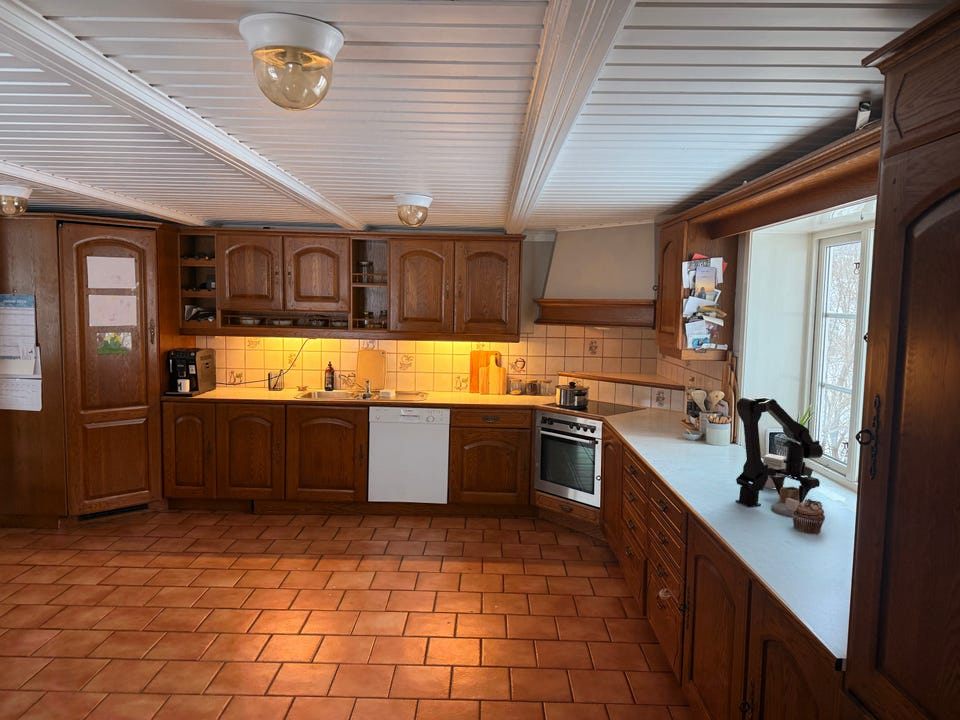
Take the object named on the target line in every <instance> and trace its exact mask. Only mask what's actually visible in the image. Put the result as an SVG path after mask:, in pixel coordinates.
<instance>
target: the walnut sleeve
mask: <svg viewBox="0 0 960 720" xmlns="http://www.w3.org/2000/svg"><path fill="white" fill-rule="evenodd" d="M786 498H791V499H794V500H797V501H799V487H796V486H784V487H783V488H780V496H779V495H778V502H781V501H782V502H781V503H784V502H785V503H784V504H786ZM799 502H800V501H799Z"/></svg>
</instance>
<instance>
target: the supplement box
mask: <svg viewBox="0 0 960 720" xmlns="http://www.w3.org/2000/svg"><path fill="white" fill-rule="evenodd" d="M786 457H787V456H785V455H784V456H783V455H777V454H773V453H767V454H766V455H763V459H762V462H763V463H765V464H768V468H769V467H780V468H784V469H785V466H786V463H784V460H786ZM770 476H771V475H768V480H767V481H766V484H765V486H764V488H766V487H769V488H768V489H771V488H776V487H775V485H774V483H773V481H772V479H771V478H770ZM785 480H786V478H785V479H784V481H783V485H784V486H785Z"/></svg>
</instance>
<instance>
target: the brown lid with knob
mask: <svg viewBox="0 0 960 720" xmlns="http://www.w3.org/2000/svg"><path fill="white" fill-rule="evenodd" d="M798 505H800V503H799V501H797V500H794V499H791V498H786V503H774V504H771V511H772V512H774V513H776V514H779V515H781V516H785V517H789V518H793V516H792V512H793V511H795V510H796V507H797V506H798Z"/></svg>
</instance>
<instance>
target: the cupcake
mask: <svg viewBox="0 0 960 720" xmlns="http://www.w3.org/2000/svg"><path fill="white" fill-rule="evenodd" d="M823 506H824V505H823V504H822V502H821V501H818V500H812V499H810V498H808V499H806V498H805V499H804V501H803V503H799V505H798V506H797V507H796V510H795V511H793V512H792V516H793V517H792V524H793V529H794V530H795V531H797V532H800V533H803V534H808V535H818V534H820V532H821V530H822V527H823V524H824V522H825V520H826V516H825V511H824V508H823Z"/></svg>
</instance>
